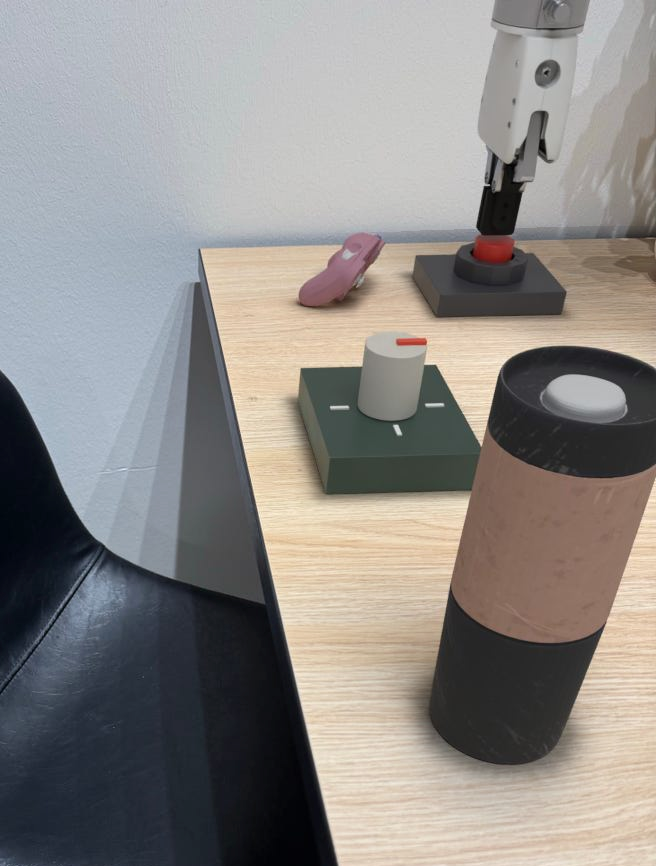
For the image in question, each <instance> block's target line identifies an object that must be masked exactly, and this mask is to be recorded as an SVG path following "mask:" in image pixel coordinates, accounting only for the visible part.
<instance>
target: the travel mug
mask: <svg viewBox="0 0 656 866" xmlns="http://www.w3.org/2000/svg"><path fill="white" fill-rule="evenodd" d="M481 447H482V448H481V452H480V457H479V461H478V465H477V470H476V474H475V478H474V483H473V487H472V490H470V496H469V500H468V504H467V509H466V514H465V517H464V521H463V527H462V531H461V535H460V538H459V539H460V540H459V544H458V548H457V552H456V557H455V561H454V565H453V569H452V570H453V571H452V574H451V577H450V578H451V579H450V585H449V589H448V593H447V594H448V595H447V601H446V607H445V611H444V616H443V617H444V618H443V623H442V628H441V632H440V633H441V634H440V640H439V645H438V650H437V655H436V656H437V657H436V662H435V667H434V673H433V679H432V685H431V691H430V697H429V698H430V699H429V713H430V719H431V721H432V723H433V726H434V727H435V729H436V731H437V732H438V734H439V735H440V736H441V737H442V738H443V739H444V740H445V741H446V742H447V743H448V744H449V745H451V746H452V747H454V748H455V749H457V750H458V751H460V752H462V753H463V754H465V755H467V756H470V757H473V758H475V759H478V760H479V761H485V762H487V763H494V764H500V765H519V764H526V763H530V762H534V761H536V760H540V759H541V758H543V757H545V756H546V755H547V754H549V753H551V751H552V750H553V749H554V748H555V746H556V745H557V744H558V742H559V741H560V739H561V736H562V735H563V732H564V730H565V727H566V725H567V723H568V720H569V718H570V715H571V714H572V710H573V708H574V706H575V703H576V700H577V698H578V695H579V693H580V691H581V688H582V685H583V683H584V681H585V678H586V675H587V673H588V671H589V667H590V665H591V663H592V660H593V658H594V655H595V653H596V651H597V648H598V645H599V643H600V640H601V637H602V636H603V633H604V630H605V627H606V625H607V622H608V619H609V618H610V614H611V611H612V609H613V606H614V602H615V600H616V596H617V593H618V591H619V588H620V584H621V582H622V579H623V576H624V573H625V570H626V567H627V564H628V561H629V558H630V555H631V552H632V549H633V546H634V544H635V540H636V538H637V534H638V531H639V529H640V526H641V523H642V521H643V516H644V513H645V510H646V508H647V504H648V501H649V499H650V496H651V493H652V490H653V487H654V484H655V481H656V367H655V366H653V365H651V364H650V363H648V362H645V361H643V360H641V359H639V358H635V357H633V356H630V355H629V354H628V355H627V354H623V353H620V352H616V351H612V350H608V349H604V348H598V347H590V346H582V345H548V346H540V347H534V348H531V349H526V350H524V351H521V352H518V353H516V354H514V355H512V356H510V358H508V359H507V360H506V361H505V362H503V364H502V366H501V368H500V370H499V372H498V375H497V379H496V383H495V388H494V392H493V396H492V400H491V404H490V409H489V414H488V418H487V421H486V427H485V431H484V435H483V439H482V444H481Z"/></svg>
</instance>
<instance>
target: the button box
mask: <svg viewBox="0 0 656 866" xmlns="http://www.w3.org/2000/svg"><path fill="white" fill-rule="evenodd" d="M474 245H475V241H474V242H471V243H466V244H463V245H461V246H460V247H459V248H458V250H457V251H455V254H415V256H414V263H413V270H412V278H413V280H414V282H415V284H416V285H417V287H418V288H419V290H420V292H421V294H422V295H423V297H424V298H425V300H426V301H427V303H428V305H429V307H430V308H431V310H432V312H433V313H434V315H435V317H437V318H445V317H446V318H447V317H449V318H450V317H491V316H492V317H493V316H496V317H497V316H536V315H562V313H563V309H564V305H565V301H566V297H567V293H568V290H566V289H565V288H564V286H563V285H562V284H561V283H560V282H559V281H558V279H557V278H556V277H555V276H554V275H553V274H552V273H551V272H550V270H549V269H548V268H547V267H546V265H545V264H543V262H542V261H541V260H540V259H539V257H538V256H537V255H536V254H535V253H534V252H525V251H524V250H523V249H521V248H518V247H515V246H514V248H513V252H512V257H511V260H510V261H506V262H487V261H482V260H479V259H477V258H474V257H473V250H474Z"/></svg>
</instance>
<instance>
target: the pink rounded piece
mask: <svg viewBox="0 0 656 866" xmlns="http://www.w3.org/2000/svg"><path fill="white" fill-rule="evenodd" d="M385 244H386V241H385V240H384V239H383V238H382V236H380V235H379V234H376V232H373V233H370V232H369V231H368V229H367V228H366V229H365V230H364V232H359V233H355V234H353V235H350V236H349V237H347V238H346V239H345V240H344V242H343V244H342V247H341V249H339V250H337V251H335V252H334V253H333V254H332V256H330V258H329V259H328V261H327V267H326V268H325V269H324V270H322V271H321V272H320V273H318V274H316V275H315V276H313V277H312V278H310V279H308V280H307V281H306V282H304V283H303V285H302V286H300V289H299V291H298V300H299V302H300V303H301V304H302V305H304V306H306V307H318V306H322V305H324V304H327V303H329V302H331V301H333V300H334V299H336V300H337V301H339V302H340V303H341V302H342V301H343V300H344V299H345V297H346V296H347V295H348V293H349V292H350V291H353V289H355V287H356V289H357V288H359V287H361V286H362V284H363V283H364V282H365V273H366V272H367V270H368V269H369V268H370V266H371V265H373V264H374V263H375V262H376V261H377V259H378V258H379V256H380V254H381V251H382V250H383V248H384V247H385Z"/></svg>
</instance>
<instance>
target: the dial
mask: <svg viewBox="0 0 656 866" xmlns="http://www.w3.org/2000/svg"><path fill="white" fill-rule="evenodd" d="M427 350H428V340H427V338H426V337H419V336H417V335H415V334H411V333H406V332H402V331H382V332H377V333H373V334H372V335H370V336H368V337H367V338H366V339H365V342H364V350H363V358H362V364H361V366H362V372H361V380H360V388H359V396H358V408H359V410H360V411H361V412H362V413H364V414H365V415H367V416H369V417H372V418H375V419H378V420H384V421H398V420H404V419H407V418H410V417H411V416H413V415H414V414H415V413H416V411H417V405H418V399H419V393H420V387H421V381H422V375H423V369H424V365H425V363H426V357H427Z"/></svg>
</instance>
